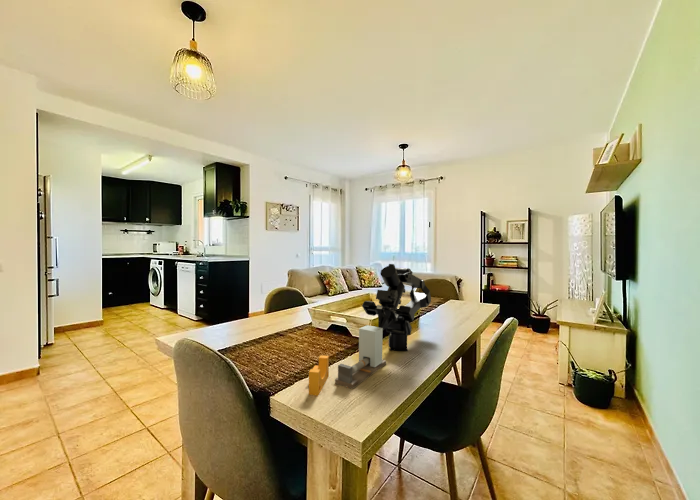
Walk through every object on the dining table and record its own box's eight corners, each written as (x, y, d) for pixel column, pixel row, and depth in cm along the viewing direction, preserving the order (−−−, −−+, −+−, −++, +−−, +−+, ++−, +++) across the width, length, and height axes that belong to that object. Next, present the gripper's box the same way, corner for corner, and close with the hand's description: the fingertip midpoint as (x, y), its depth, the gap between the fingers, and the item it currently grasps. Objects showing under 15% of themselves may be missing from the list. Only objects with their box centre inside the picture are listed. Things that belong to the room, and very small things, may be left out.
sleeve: (366, 358, 103) (366, 325, 102) (382, 362, 99) (382, 328, 99) (358, 363, 98) (359, 328, 98) (374, 367, 95) (375, 331, 95)
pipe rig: (370, 360, 105) (371, 344, 105) (386, 364, 102) (386, 348, 102) (335, 383, 88) (335, 364, 88) (352, 388, 84) (352, 369, 84)
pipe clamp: (315, 375, 93) (315, 354, 93) (328, 376, 92) (328, 355, 92) (302, 395, 81) (302, 371, 81) (318, 396, 80) (318, 372, 80)
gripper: (364, 279, 113) (348, 314, 104) (411, 283, 103) (397, 322, 94) (374, 297, 120) (359, 331, 111) (419, 302, 109) (407, 340, 100)
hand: (379, 331), depth 104 cm, fingers closed
